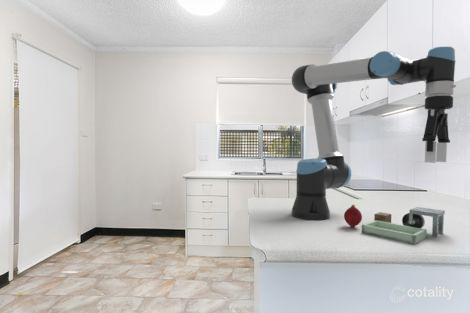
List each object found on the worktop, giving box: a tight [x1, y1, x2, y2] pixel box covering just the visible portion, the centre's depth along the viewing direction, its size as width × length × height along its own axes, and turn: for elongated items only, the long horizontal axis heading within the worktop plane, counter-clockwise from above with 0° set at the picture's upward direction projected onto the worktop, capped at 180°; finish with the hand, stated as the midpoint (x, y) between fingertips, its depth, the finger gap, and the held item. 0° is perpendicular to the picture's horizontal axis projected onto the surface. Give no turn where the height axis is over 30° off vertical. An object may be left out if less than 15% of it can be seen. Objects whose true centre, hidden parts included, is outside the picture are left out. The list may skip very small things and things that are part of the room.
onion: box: [343, 203, 363, 228], centre depth 103 cm, size 6×6×8 cm
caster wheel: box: [401, 206, 446, 238], centre depth 99 cm, size 11×8×8 cm
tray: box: [361, 220, 428, 245], centre depth 94 cm, size 16×11×2 cm
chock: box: [373, 211, 392, 223], centre depth 108 cm, size 4×5×4 cm
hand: (435, 162), depth 96 cm, fingers open, 13 cm apart
